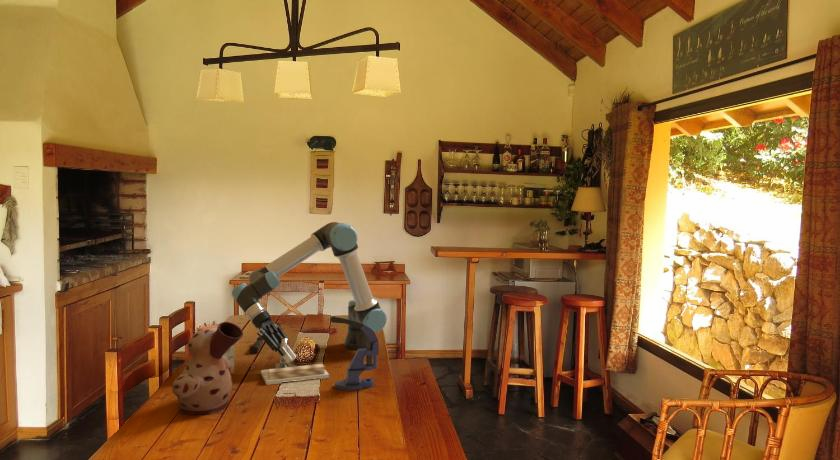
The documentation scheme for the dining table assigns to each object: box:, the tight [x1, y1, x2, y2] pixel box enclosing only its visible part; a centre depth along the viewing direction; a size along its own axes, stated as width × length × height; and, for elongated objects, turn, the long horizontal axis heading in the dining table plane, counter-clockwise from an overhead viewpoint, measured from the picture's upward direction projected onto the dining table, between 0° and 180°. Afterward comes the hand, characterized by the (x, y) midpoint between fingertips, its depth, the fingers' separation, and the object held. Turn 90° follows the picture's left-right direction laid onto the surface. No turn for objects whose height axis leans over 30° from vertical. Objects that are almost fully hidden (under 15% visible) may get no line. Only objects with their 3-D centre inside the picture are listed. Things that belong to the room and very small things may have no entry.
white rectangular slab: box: [260, 369, 330, 386], centre depth 234 cm, size 25×14×2 cm, turn 114°
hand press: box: [329, 315, 380, 391], centre depth 223 cm, size 19×9×28 cm, turn 103°
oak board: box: [267, 363, 326, 380], centre depth 231 cm, size 22×4×3 cm, turn 114°
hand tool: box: [249, 335, 264, 355], centre depth 273 cm, size 19×4×5 cm, turn 2°
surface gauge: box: [274, 337, 294, 369], centre depth 234 cm, size 6×8×13 cm
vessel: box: [171, 321, 244, 415], centre depth 199 cm, size 29×22×30 cm
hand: (291, 359), depth 234 cm, fingers closed on surface gauge, 2 cm apart
